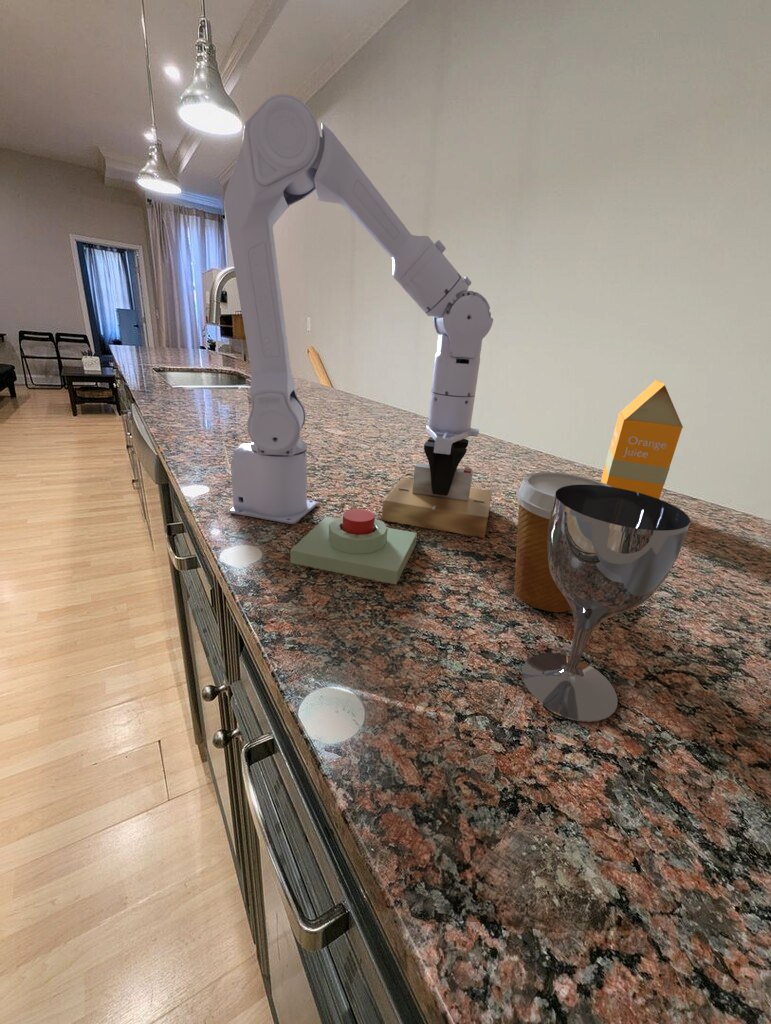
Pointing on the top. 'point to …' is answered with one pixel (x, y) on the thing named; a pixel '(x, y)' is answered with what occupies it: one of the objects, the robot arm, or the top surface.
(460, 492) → the grey rectangular block
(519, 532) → the disposable coffee cup
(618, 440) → the orange juice
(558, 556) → the wine glass
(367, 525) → the button
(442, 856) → the top surface
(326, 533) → the button block
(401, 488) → the wooden base
